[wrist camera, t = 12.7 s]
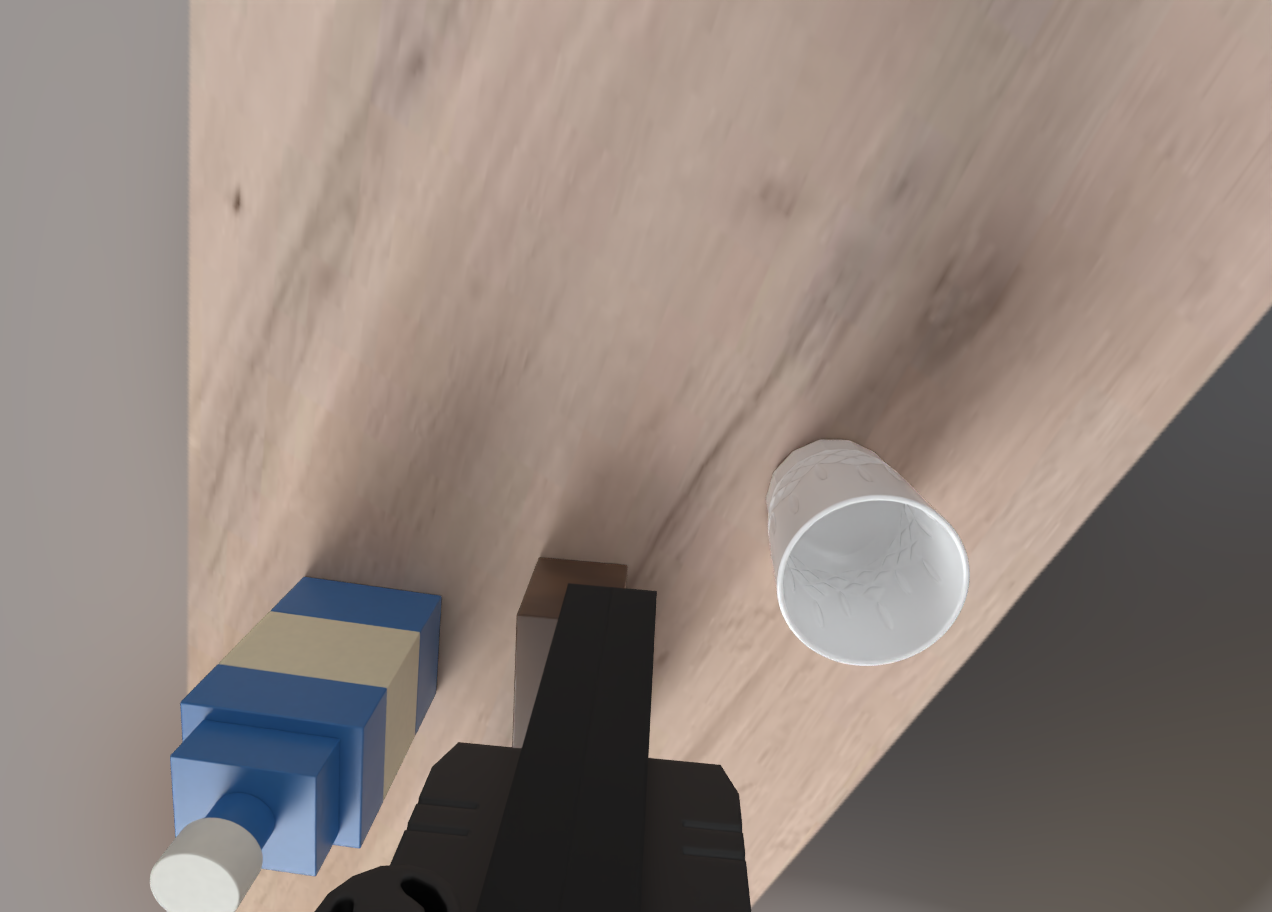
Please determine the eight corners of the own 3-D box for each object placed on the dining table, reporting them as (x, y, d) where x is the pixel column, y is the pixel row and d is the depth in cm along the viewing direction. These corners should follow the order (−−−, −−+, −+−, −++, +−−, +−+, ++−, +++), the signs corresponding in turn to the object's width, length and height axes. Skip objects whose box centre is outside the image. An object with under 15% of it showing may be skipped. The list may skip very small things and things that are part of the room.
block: (628, 564, 44) (620, 624, 38) (613, 744, 48) (604, 825, 42) (538, 556, 45) (516, 614, 38) (531, 737, 48) (509, 815, 42)
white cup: (788, 585, 44) (819, 692, 35) (731, 463, 42) (747, 541, 33) (925, 531, 43) (995, 626, 33) (872, 402, 41) (931, 464, 31)
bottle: (555, 676, 40) (170, 855, 27) (543, 785, 42) (180, 998, 29) (384, 554, 49) (43, 644, 37) (381, 647, 51) (58, 762, 39)
